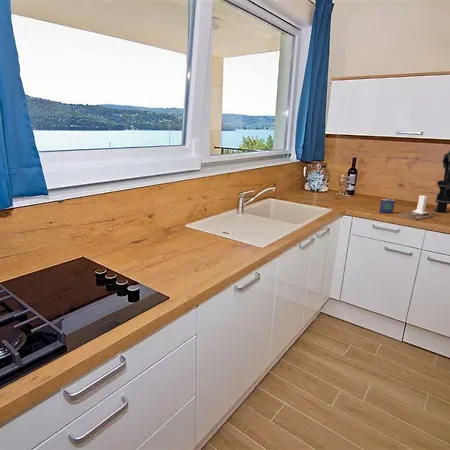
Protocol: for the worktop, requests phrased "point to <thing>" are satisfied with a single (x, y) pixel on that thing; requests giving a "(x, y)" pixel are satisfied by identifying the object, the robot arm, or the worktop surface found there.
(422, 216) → the rail board
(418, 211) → the slider
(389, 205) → the flask
